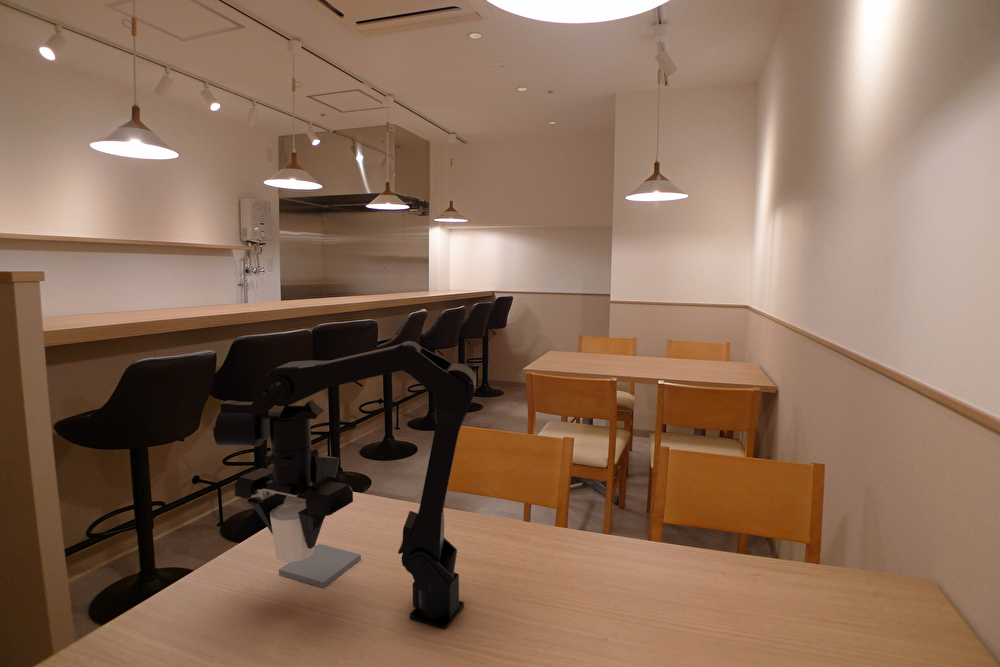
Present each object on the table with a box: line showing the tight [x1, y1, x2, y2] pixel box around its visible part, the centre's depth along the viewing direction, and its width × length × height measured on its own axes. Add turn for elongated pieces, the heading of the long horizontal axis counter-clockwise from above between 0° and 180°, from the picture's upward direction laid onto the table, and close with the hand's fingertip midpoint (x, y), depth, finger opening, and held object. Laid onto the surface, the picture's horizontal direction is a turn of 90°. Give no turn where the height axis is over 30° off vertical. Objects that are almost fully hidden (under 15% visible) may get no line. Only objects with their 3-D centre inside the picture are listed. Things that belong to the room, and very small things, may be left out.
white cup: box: [270, 500, 316, 563], centre depth 83 cm, size 7×7×7 cm
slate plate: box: [278, 543, 362, 589], centre depth 98 cm, size 10×10×1 cm
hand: (295, 543), depth 83 cm, fingers closed on white cup, 6 cm apart
